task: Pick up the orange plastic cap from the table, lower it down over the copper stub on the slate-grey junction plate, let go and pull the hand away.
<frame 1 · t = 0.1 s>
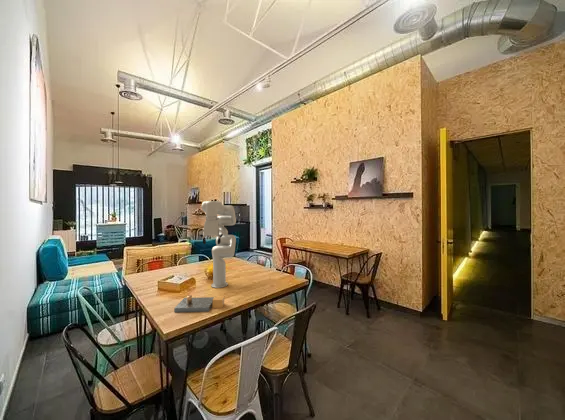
hand: (211, 243, 165), 36 cm above the table, tool pointing down, fingers open, 9 cm apart
junction plate: (195, 306, 149), on the table
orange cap: (218, 305, 150), on the table
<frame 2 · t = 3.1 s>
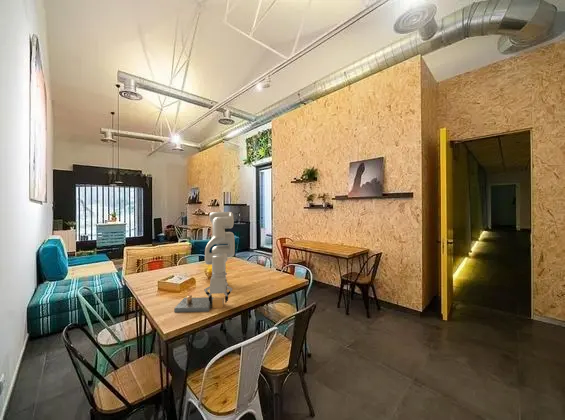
hand: (218, 302, 149), 2 cm above the table, tool pointing down, fingers open, 9 cm apart
nothing on the table moved.
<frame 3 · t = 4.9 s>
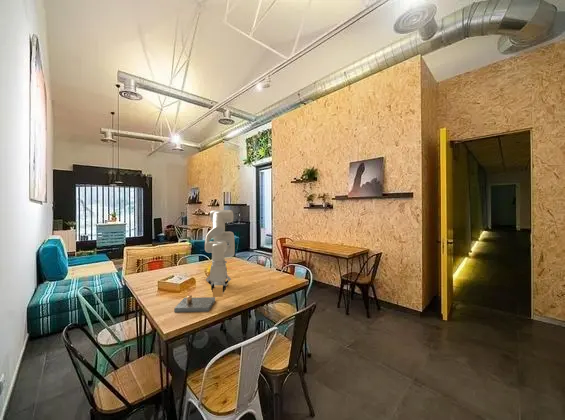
hand: (218, 290, 150), 9 cm above the table, tool pointing down, fingers closed on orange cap, 6 cm apart
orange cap: (218, 294, 151), point 6 cm above the table, touching gripper
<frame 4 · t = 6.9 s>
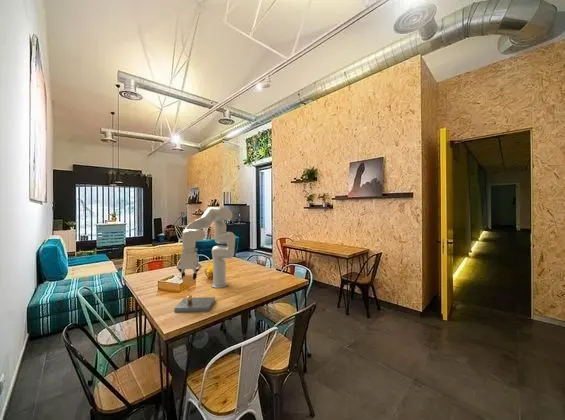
hand: (189, 279, 149), 17 cm above the table, tool pointing down, fingers closed on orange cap, 6 cm apart
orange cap: (189, 283, 149), point 14 cm above the table, touching gripper
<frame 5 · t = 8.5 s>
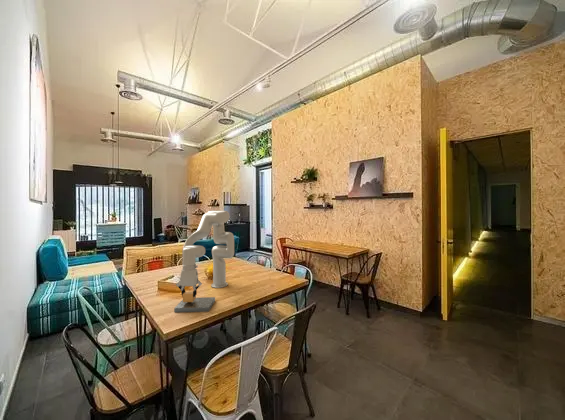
hand: (189, 296, 149), 7 cm above the table, tool pointing down, fingers closed on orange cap, 6 cm apart
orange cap: (189, 300, 149), point 4 cm above the table, touching gripper
when the fingers open (5 cm above the table, at t = 9.3 s): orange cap stays where it is, resting on junction plate.
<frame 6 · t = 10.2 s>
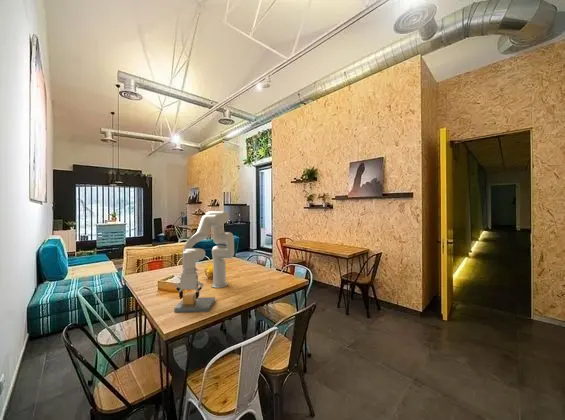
hand: (189, 298, 149), 5 cm above the table, tool pointing down, fingers open, 9 cm apart
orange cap: (189, 302, 149), point 2 cm above the table, touching junction plate
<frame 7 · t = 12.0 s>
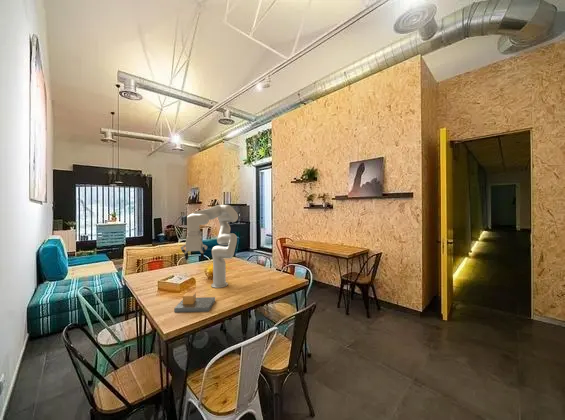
hand: (194, 259, 158), 27 cm above the table, tool pointing down, fingers open, 9 cm apart
nothing on the table moved.
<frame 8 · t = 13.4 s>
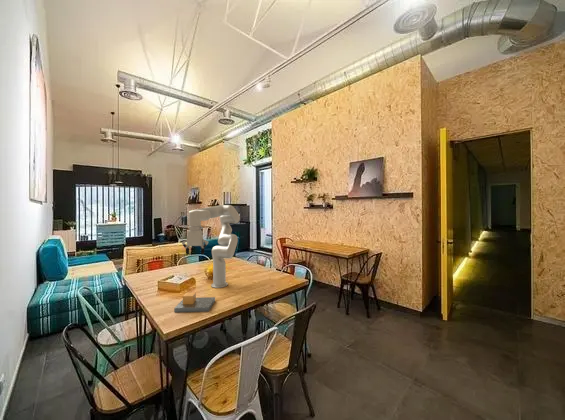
hand: (195, 254, 160), 30 cm above the table, tool pointing down, fingers open, 9 cm apart
nothing on the table moved.
at the end: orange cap 0.3 cm from the target spot on the junction plate, point 2.5 cm above the junction plate's base; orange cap tilted 0°; the gripper is holding nothing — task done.
